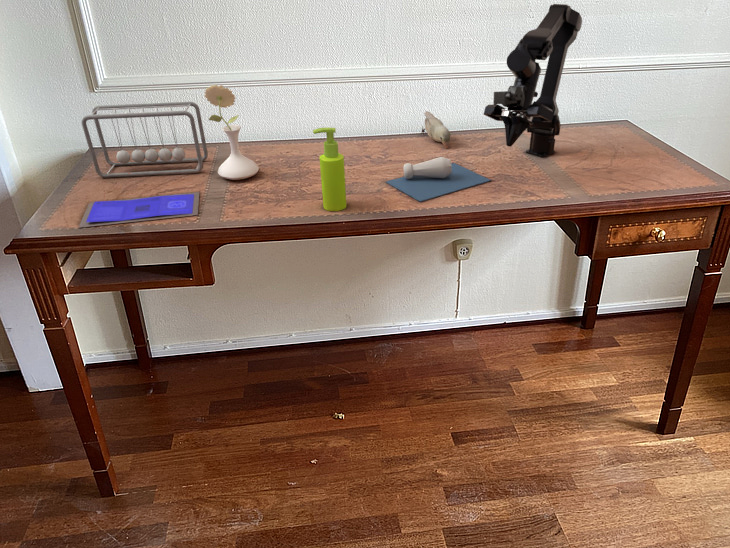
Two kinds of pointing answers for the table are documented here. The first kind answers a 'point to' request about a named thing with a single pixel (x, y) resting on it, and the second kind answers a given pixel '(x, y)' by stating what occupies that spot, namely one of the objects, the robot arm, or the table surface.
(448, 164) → the salt shaker
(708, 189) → the table surface
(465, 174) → the slate mat
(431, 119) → the decorative bird
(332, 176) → the soap dispenser
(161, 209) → the booklet
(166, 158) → the newton's cradle
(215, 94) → the flower in vase
